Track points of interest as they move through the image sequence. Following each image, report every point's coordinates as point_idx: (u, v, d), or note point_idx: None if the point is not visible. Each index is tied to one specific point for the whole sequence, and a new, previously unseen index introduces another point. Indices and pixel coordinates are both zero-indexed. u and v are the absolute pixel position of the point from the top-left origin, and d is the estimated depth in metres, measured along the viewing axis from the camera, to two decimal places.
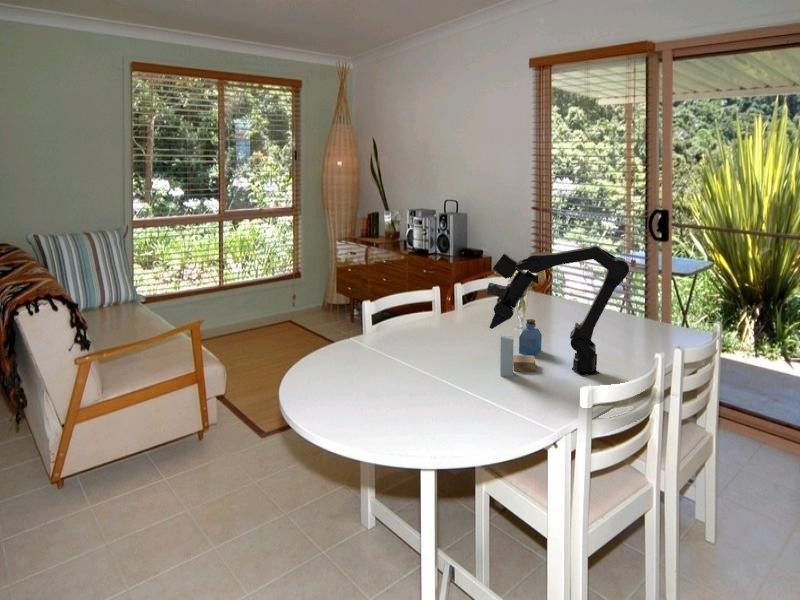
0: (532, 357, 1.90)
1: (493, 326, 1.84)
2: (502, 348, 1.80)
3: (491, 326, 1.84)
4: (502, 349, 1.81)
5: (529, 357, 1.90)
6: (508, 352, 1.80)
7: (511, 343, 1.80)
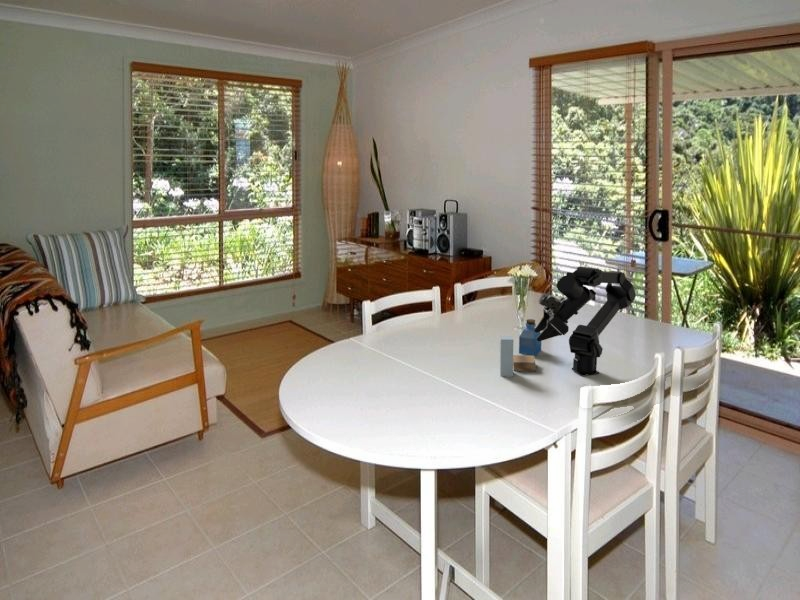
0: (532, 357, 1.90)
1: (541, 339, 1.74)
2: (502, 348, 1.80)
3: (539, 338, 1.75)
4: (502, 349, 1.81)
5: (529, 357, 1.90)
6: (508, 352, 1.80)
7: (511, 343, 1.80)
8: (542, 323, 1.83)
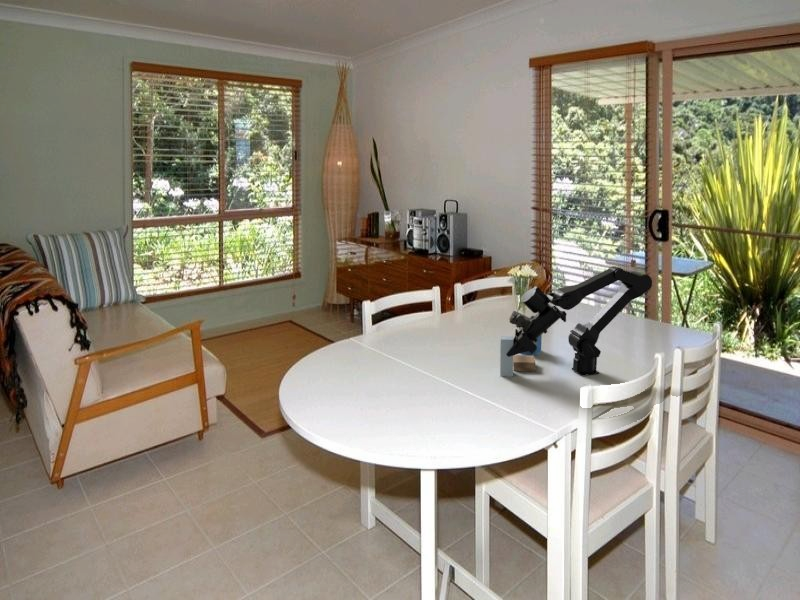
0: (532, 357, 1.90)
1: (510, 354, 1.80)
2: (502, 348, 1.80)
3: (509, 353, 1.80)
4: (502, 349, 1.81)
5: (529, 357, 1.90)
6: None
7: (511, 343, 1.80)
8: (513, 343, 1.84)
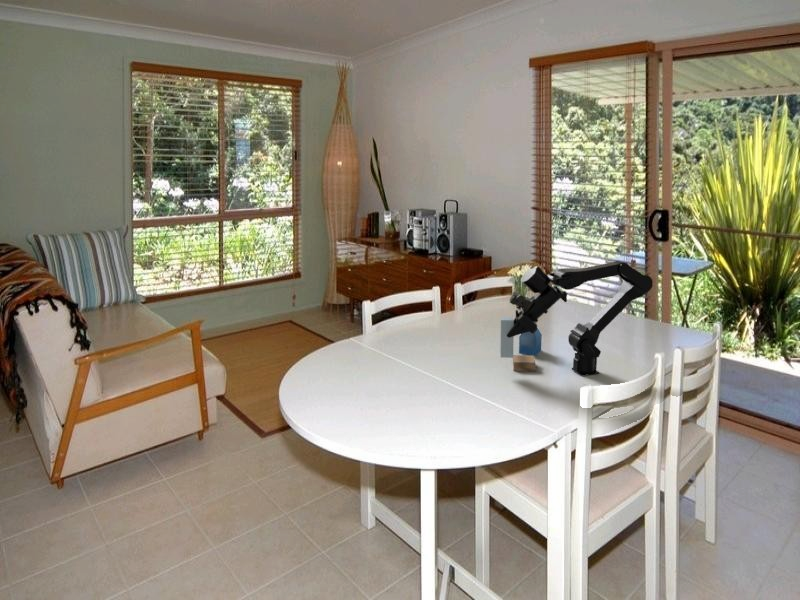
0: (532, 357, 1.90)
1: (511, 335, 1.78)
2: (502, 329, 1.79)
3: (509, 334, 1.78)
4: (503, 330, 1.79)
5: (529, 357, 1.90)
6: None
7: (511, 324, 1.78)
8: (514, 324, 1.82)
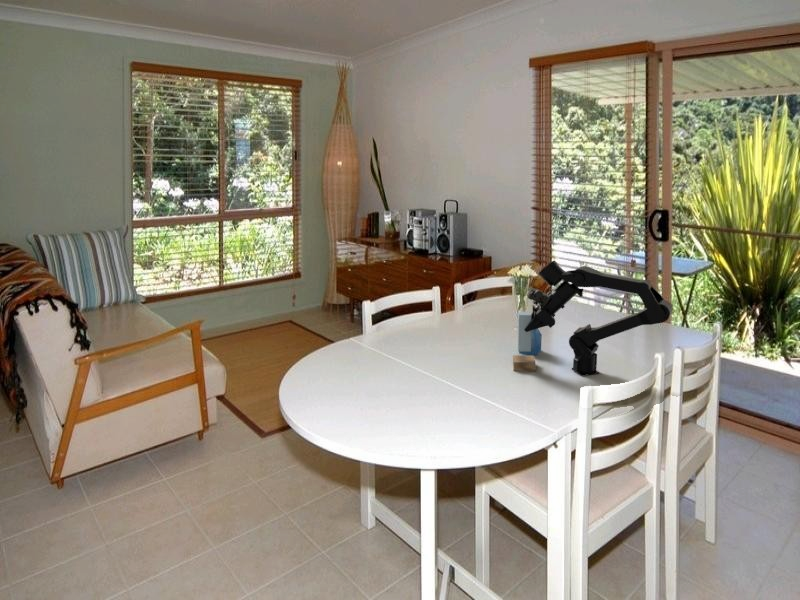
0: (532, 357, 1.90)
1: (529, 329, 1.84)
2: (520, 323, 1.84)
3: (527, 329, 1.84)
4: (521, 325, 1.84)
5: (529, 357, 1.90)
6: None
7: (529, 318, 1.83)
8: (531, 319, 1.88)
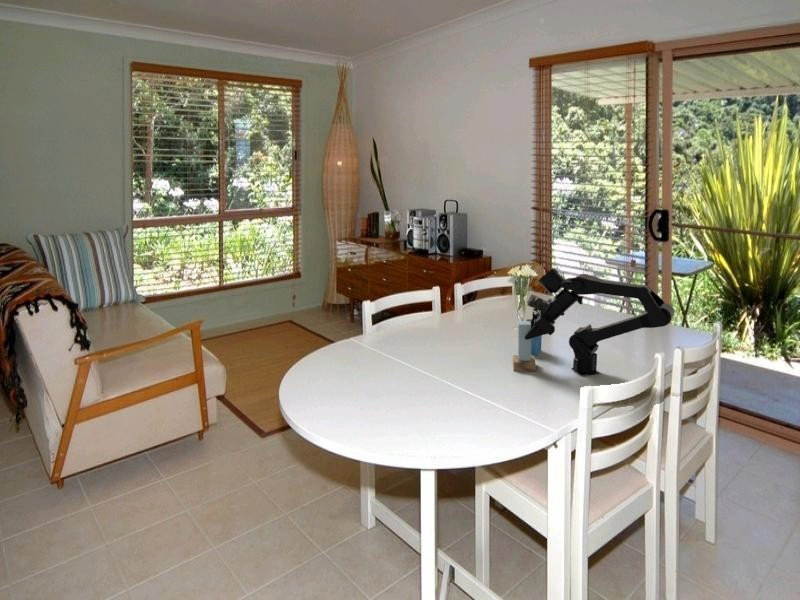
0: (532, 357, 1.90)
1: (529, 337, 1.83)
2: (520, 333, 1.85)
3: (527, 336, 1.84)
4: (520, 334, 1.85)
5: None
6: None
7: (529, 328, 1.84)
8: (531, 325, 1.89)
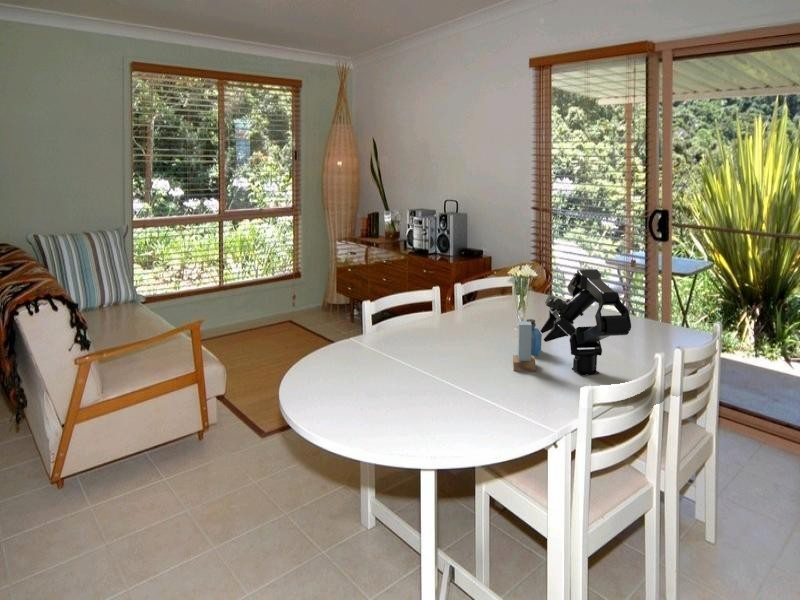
0: (532, 357, 1.90)
1: (548, 339, 1.81)
2: (520, 333, 1.85)
3: (546, 339, 1.81)
4: (521, 334, 1.85)
5: None
6: (526, 337, 1.85)
7: (529, 328, 1.84)
8: (548, 324, 1.90)
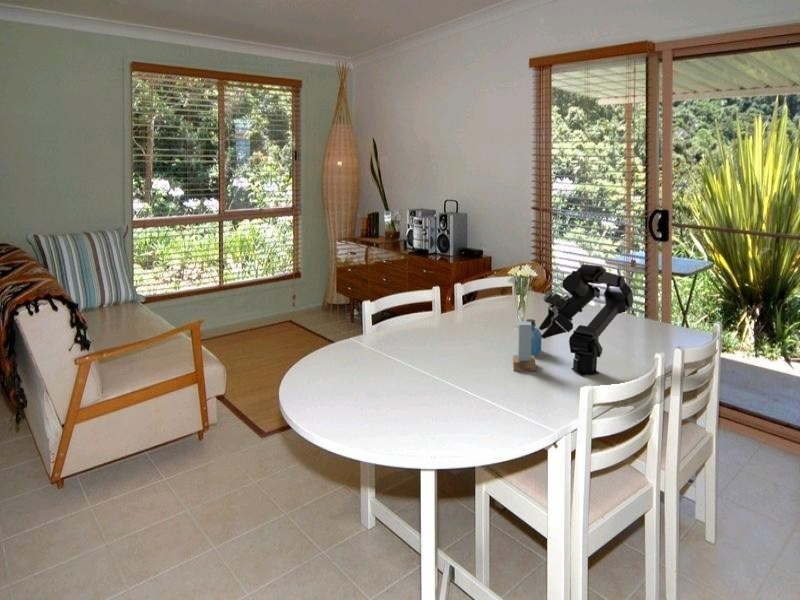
0: (532, 357, 1.90)
1: (546, 336, 1.76)
2: (520, 333, 1.85)
3: (544, 335, 1.76)
4: (521, 334, 1.85)
5: None
6: (526, 337, 1.85)
7: (529, 328, 1.84)
8: (546, 321, 1.85)
